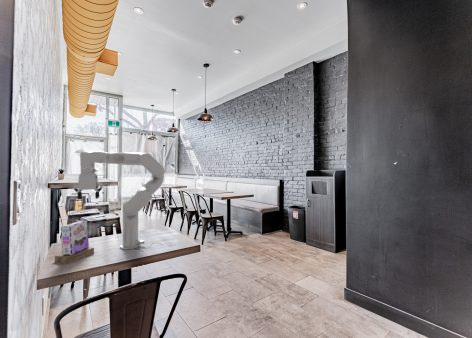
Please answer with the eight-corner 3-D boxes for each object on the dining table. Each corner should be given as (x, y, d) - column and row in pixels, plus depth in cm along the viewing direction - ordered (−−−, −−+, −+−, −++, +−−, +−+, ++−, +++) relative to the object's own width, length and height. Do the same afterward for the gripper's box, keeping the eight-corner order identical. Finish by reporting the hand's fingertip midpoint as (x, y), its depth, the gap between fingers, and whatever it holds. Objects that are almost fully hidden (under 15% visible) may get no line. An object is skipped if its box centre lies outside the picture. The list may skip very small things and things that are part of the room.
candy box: (71, 255, 133) (69, 225, 133) (62, 255, 133) (59, 226, 133) (89, 246, 146) (87, 220, 146) (80, 247, 147) (78, 220, 147)
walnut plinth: (94, 254, 146) (94, 247, 146) (65, 264, 130) (65, 257, 130) (83, 252, 149) (83, 246, 149) (54, 262, 133) (54, 255, 133)
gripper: (104, 170, 154) (105, 197, 154) (75, 171, 150) (76, 198, 151) (100, 171, 146) (101, 198, 147) (69, 171, 143) (70, 200, 143)
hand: (88, 198), depth 149 cm, fingers open, 9 cm apart
